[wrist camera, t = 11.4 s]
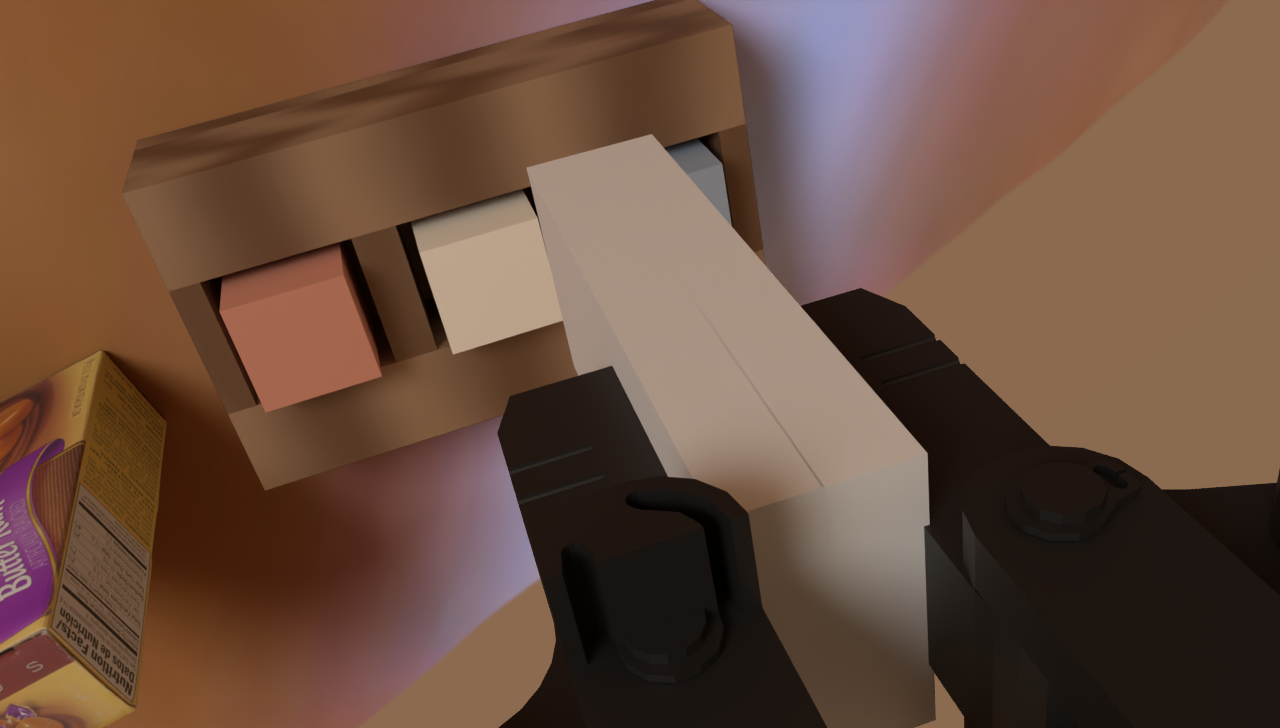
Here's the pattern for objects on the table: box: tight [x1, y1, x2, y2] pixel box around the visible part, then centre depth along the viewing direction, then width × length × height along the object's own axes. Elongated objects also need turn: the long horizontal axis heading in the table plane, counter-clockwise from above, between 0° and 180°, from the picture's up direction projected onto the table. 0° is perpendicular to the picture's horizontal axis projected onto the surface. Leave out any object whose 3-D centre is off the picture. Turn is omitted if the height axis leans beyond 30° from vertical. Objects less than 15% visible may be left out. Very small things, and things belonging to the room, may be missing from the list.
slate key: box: [664, 138, 732, 226], centre depth 40 cm, size 4×4×4 cm
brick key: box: [220, 241, 382, 412], centre depth 38 cm, size 4×4×4 cm
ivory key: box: [411, 189, 563, 354], centre depth 39 cm, size 4×4×4 cm
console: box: [122, 0, 765, 491], centre depth 41 cm, size 20×12×5 cm, turn 101°
